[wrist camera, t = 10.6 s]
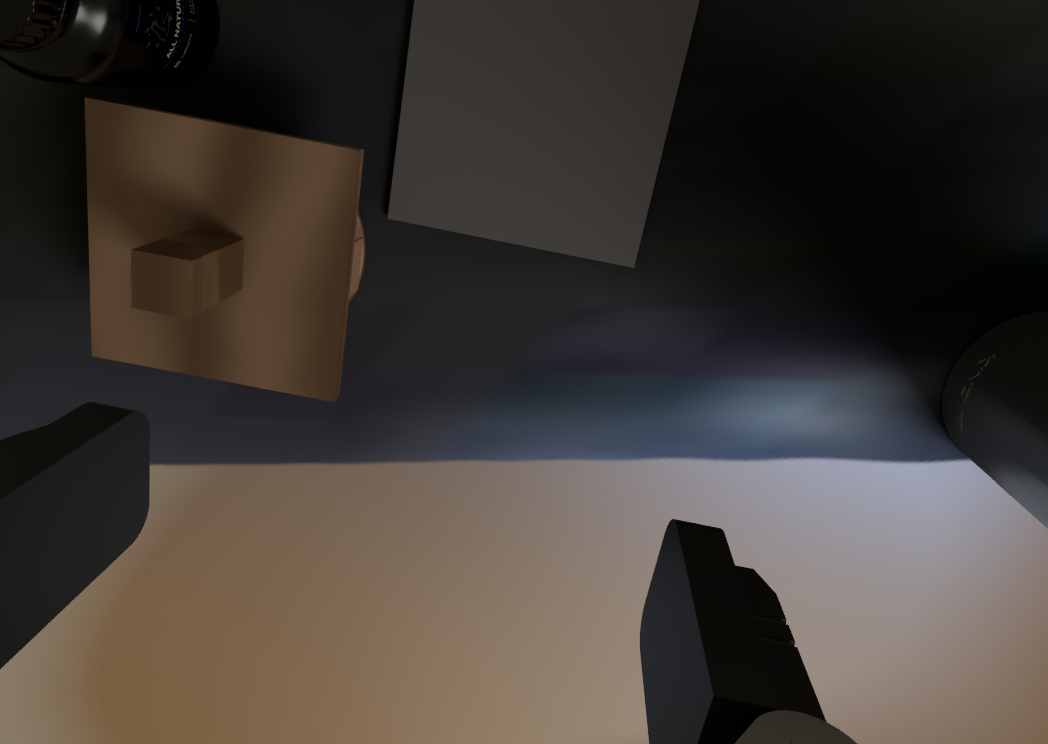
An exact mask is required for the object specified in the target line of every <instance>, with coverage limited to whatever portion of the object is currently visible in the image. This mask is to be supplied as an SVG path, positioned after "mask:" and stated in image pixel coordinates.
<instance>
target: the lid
mask: <svg viewBox="0 0 1048 744" xmlns="http://www.w3.org/2000/svg"><path fill="white" fill-rule="evenodd" d="M85 130H86V165H87V200H88V236H89V271H90V306H91V342H92V356H94V357H100V358H105V359H110V360H115V361H121V362H126V363H131V364H136V365H142V366H147V367H152V368H158V369H163V370H168V371H173V372H179V373H184V374H189V375H194V376H200V377H205V378H210V379H216V380H221V381H226V382H231V383H237V384H242V385H247V386H252V387H258V388H263V389H268V390H274V391H279V392H284V393H289V394H295V395H300V396H305V397H310V398H316V399H321V400H326V401H332V402H335V401H336V399H337V398H338V397H339V394H340V384H341V374H342V364H343V354H344V344H345V334H346V324H347V314H348V304H349V294H350V284H351V274H352V264H353V254H354V244H355V234H356V224H357V214H358V204H359V194H360V184H361V174H362V164H363V154H364V149H360V148H355V147H349V146H344V145H339V144H334V143H329V142H324V141H318V140H313V139H308V138H303V137H298V136H293V135H287V134H282V133H277V132H272V131H267V130H261V129H256V128H251V127H246V126H241V125H236V124H230V123H225V122H220V121H215V120H210V119H205V118H199V117H194V116H189V115H184V114H179V113H173V112H168V111H163V110H158V109H153V108H148V107H142V106H137V105H132V104H127V103H122V102H117V101H111V100H106V99H101V98H96V97H85Z"/></svg>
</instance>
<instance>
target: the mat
mask: <svg viewBox="0 0 1048 744" xmlns="http://www.w3.org/2000/svg"><path fill="white" fill-rule="evenodd" d="M699 1H700V0H414V7H413V16H412V24H411V32H410V40H409V48H408V56H407V64H406V73H405V81H404V89H403V97H402V105H401V113H400V121H399V130H398V138H397V146H396V154H395V162H394V170H393V178H392V187H391V195H390V203H389V211H388V219H392V220H397V221H402V222H407V223H412V224H417V225H422V226H427V227H432V228H437V229H442V230H447V231H452V232H457V233H462V234H467V235H472V236H477V237H482V238H487V239H492V240H497V241H502V242H507V243H512V244H517V245H522V246H527V247H532V248H537V249H542V250H547V251H552V252H557V253H562V254H567V255H572V256H577V257H582V258H587V259H592V260H597V261H602V262H607V263H612V264H617V265H622V266H627V267H632V268H634V265H635V261H636V257H637V253H638V249H639V245H640V241H641V237H642V233H643V229H644V224H645V220H646V216H647V212H648V208H649V204H650V200H651V196H652V192H653V188H654V184H655V180H656V176H657V172H658V168H659V164H660V160H661V155H662V151H663V147H664V143H665V139H666V135H667V131H668V127H669V123H670V119H671V115H672V111H673V107H674V103H675V99H676V95H677V91H678V87H679V82H680V78H681V74H682V70H683V66H684V62H685V58H686V54H687V50H688V46H689V42H690V38H691V34H692V30H693V26H694V22H695V18H696V14H697V9H698V5H699Z"/></svg>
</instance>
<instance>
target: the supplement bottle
mask: <svg viewBox="0 0 1048 744" xmlns="http://www.w3.org/2000/svg"><path fill="white" fill-rule="evenodd" d="M219 28H220V20H219V11H218V5H217V1H216V0H0V60H2V61H3V62H4V63H6V64H7V65H9V66H10V67H12V68H14V69H16V70H17V71H19V72H21V73H24V74H26V75H28V76H31V77H34V78H36V79H40V80H44V81H50V82H57V83H68V84H83V85H99V86H114V87H129V88H146V89H166V88H172V87H177V86H180V85H183V84H185V83H187V82H189V81H190V80H192V79H193V78H195V77H196V76H197V75H199V74H200V73H201V72H202V71H203V70H204V68H205V67H206V66H207V65H208V63H209V62H210V60H211V58H212V56H213V54H214V52H215V49H216V46H217V42H218V37H219Z"/></svg>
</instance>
